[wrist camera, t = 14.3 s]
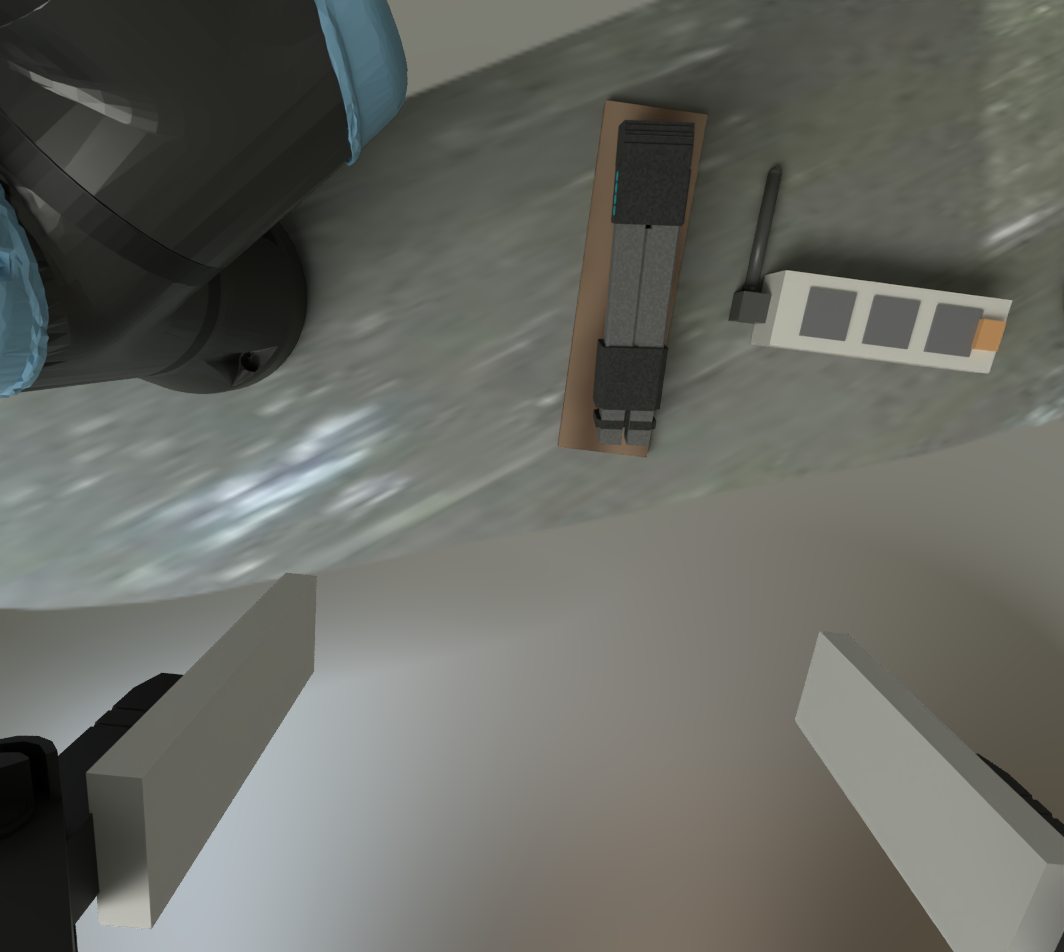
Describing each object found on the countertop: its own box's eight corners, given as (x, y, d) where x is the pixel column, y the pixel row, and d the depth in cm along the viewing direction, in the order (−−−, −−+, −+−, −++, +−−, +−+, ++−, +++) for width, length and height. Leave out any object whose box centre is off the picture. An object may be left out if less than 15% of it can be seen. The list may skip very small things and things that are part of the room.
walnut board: (557, 444, 44) (558, 446, 44) (604, 104, 39) (605, 100, 38) (644, 455, 45) (646, 457, 44) (704, 119, 39) (707, 114, 38)
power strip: (724, 340, 43) (744, 341, 39) (759, 167, 40) (785, 149, 36) (952, 370, 43) (995, 374, 39) (1004, 201, 40) (1056, 187, 36)
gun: (674, 118, 38) (713, 125, 29) (634, 389, 49) (654, 448, 40) (607, 116, 38) (628, 121, 29) (582, 387, 49) (592, 447, 40)
